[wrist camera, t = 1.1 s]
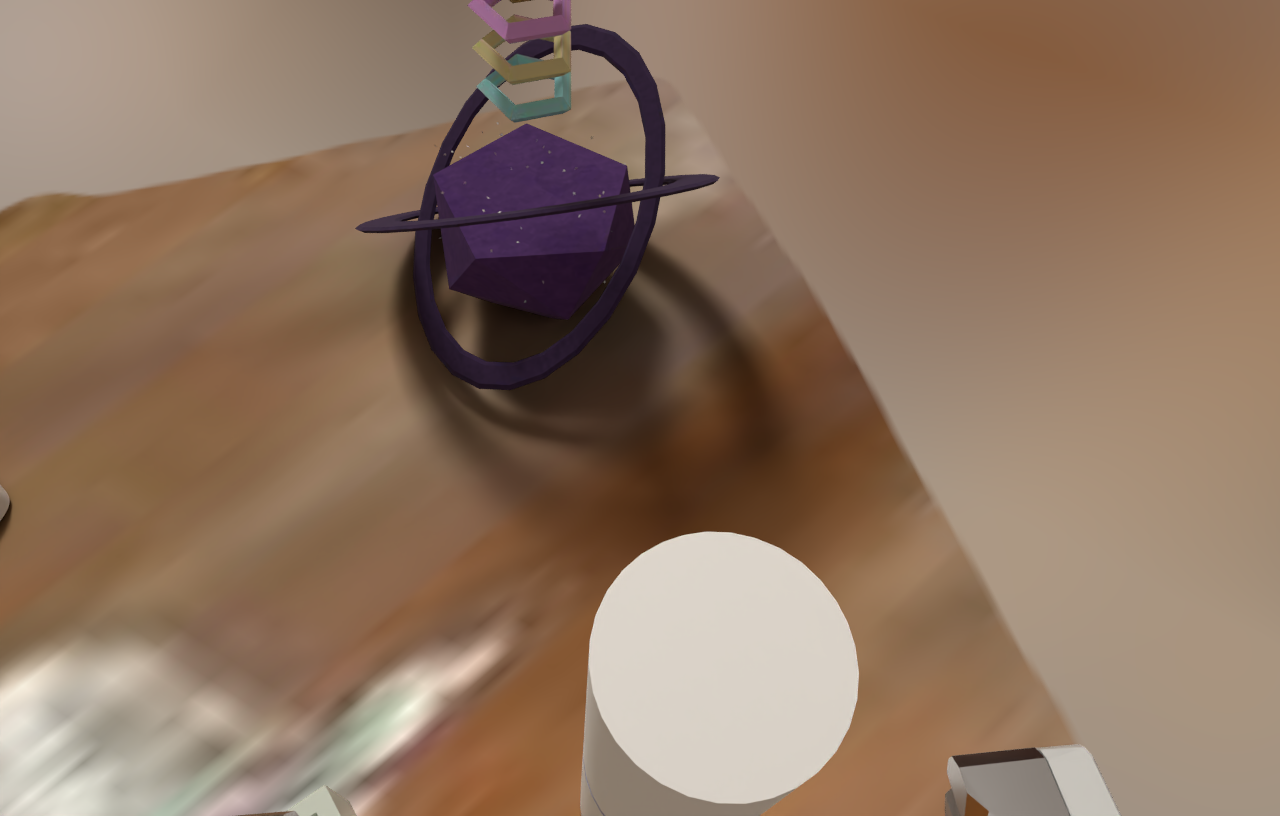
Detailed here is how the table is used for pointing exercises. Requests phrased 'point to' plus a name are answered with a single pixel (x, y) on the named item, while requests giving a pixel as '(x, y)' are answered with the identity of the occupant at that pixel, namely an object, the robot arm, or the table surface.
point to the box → (323, 804)
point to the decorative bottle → (537, 200)
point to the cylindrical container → (713, 681)
